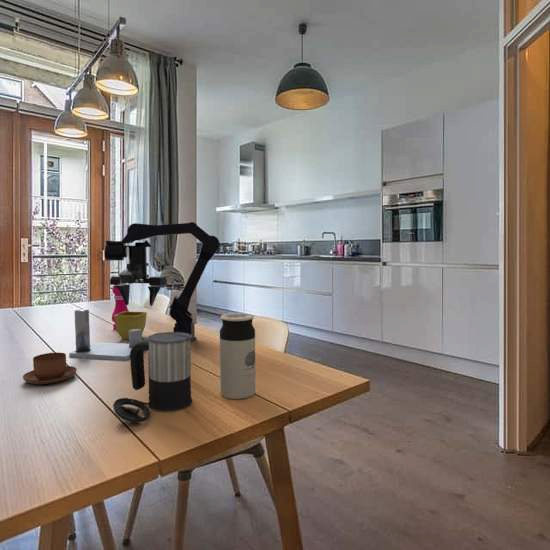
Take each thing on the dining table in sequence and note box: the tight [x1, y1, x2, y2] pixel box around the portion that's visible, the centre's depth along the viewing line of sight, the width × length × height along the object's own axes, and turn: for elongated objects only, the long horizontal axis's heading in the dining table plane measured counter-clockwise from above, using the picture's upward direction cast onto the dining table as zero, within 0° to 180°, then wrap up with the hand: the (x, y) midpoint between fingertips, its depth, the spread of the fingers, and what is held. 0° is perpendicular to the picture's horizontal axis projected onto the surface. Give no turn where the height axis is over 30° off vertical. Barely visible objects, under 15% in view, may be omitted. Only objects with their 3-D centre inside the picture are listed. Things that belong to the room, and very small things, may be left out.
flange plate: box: [68, 329, 147, 361], centre depth 129 cm, size 19×14×6 cm
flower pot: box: [114, 311, 148, 340], centre depth 150 cm, size 9×9×9 cm
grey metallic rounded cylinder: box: [74, 308, 91, 352], centre depth 127 cm, size 4×4×12 cm
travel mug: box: [219, 312, 257, 400], centre depth 93 cm, size 8×8×18 cm
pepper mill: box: [111, 285, 130, 331], centre depth 166 cm, size 7×7×20 cm
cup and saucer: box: [22, 352, 78, 385], centre depth 104 cm, size 12×12×6 cm
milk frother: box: [112, 331, 193, 424], centre depth 84 cm, size 14×16×15 cm
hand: (139, 305), depth 142 cm, fingers open, 9 cm apart
